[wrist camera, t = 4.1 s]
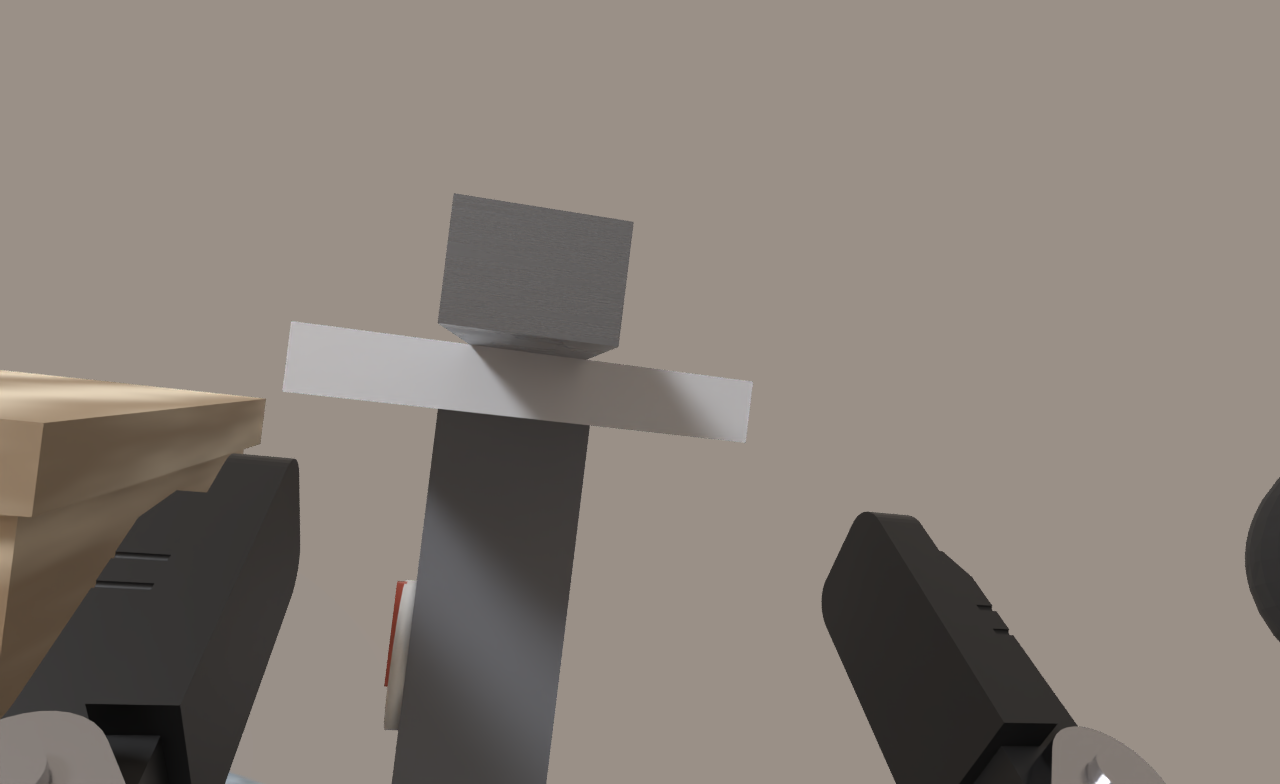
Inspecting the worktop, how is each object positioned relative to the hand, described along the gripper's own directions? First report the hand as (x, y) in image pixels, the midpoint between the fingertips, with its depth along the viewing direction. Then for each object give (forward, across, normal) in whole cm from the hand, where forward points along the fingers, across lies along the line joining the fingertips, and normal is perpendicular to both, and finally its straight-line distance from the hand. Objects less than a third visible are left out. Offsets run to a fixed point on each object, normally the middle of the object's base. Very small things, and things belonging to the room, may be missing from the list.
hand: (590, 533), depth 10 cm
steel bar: (+15, 0, +6) cm, 16 cm away
